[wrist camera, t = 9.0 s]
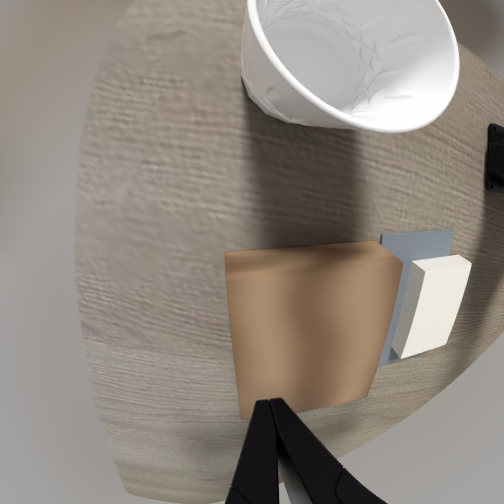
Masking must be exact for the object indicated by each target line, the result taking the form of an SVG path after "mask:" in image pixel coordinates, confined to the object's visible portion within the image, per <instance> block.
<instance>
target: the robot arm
mask: <svg viewBox="0 0 504 504" xmlns="http://www.w3.org/2000/svg"><path fill="white" fill-rule="evenodd" d="M486 188H487V190H488V191H491V192H500V193H504V127H502V126H499V125H497V124H493V123H490V125H489V155H488V172H487V184H486ZM278 466H279V469H280V472H281V475H282V478H283V481H284V484H285V487H286V490H287V493H288V496H289V499H290V502H291V504H387V503H386V502H385V501H383V500H381V499H380V498H379V497H377V496H376V495H375V494H373V493H372V492H371V491H369V490H368V489H367V488H366V487H364V486H363V485H362V484H361V483H360V482H359V481H358V480H357V479H355V478H354V477H353V476H352V475H351V474H350V473H349V472H348V471H347V470H346V469H345V468H343V466H342V464H341V463H339V461H338V460H337V459H336V458H335V457H334V456H333V455H332V454H331V453H330V452H329V451H328V450H327V448H326V447H325V446H324V445H323V444H322V443H321V442H320V441H319V440H318V439H317V437H316V436H315V435H314V434H313V433H312V432H311V431H310V430H309V428H308V427H307V426H306V425H305V424H304V423H303V422H302V420H301V419H300V418H299V417H298V416H297V415H296V414H295V412H294V411H293V410H292V409H291V408H290V407H289V405H288V404H287V403H286V402H285V401H284V399H283V398H281V397H277V398H271V399H269V400H268V399H262V400H257V401H256V402H255V405H254V409H253V412H252V416H251V420H250V423H249V427H248V430H247V434H246V437H245V441H244V444H243V447H242V451H241V454H240V457H239V461H238V464H237V467H236V471H235V474H234V477H233V480H232V484H231V487H230V489H229V492H228V496H227V498H226V501H225V504H279V480H278Z"/></svg>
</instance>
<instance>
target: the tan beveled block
mask: <svg viewBox="0 0 504 504" xmlns="http://www.w3.org/2000/svg"><path fill="white" fill-rule="evenodd" d="M224 255H225V270H226V284H227V295H228V305H229V316H230V325H231V335H232V345H233V354H234V363H235V372H236V380H237V389H238V397H239V405H240V413H241V420H242V419H251V416H252V412H253V409H254V405H255V402H256V401H257V400H262V399H268V400H269V399H271V398H277V397H281V398H283V399H284V401H285V402H286V403H287V404H288V405H289V407H290V408H291V409H292V410H293V411H294V412H295V413H296V412H302V411H307V410H313V409H318V408H323V407H327V406H332V405H336V404H341V403H345V402H349V401H353V400H357V399H361V398H364V397H367V396H368V393H369V390H370V388H371V385H372V382H373V379H374V376H375V373H376V370H377V367H378V364H379V361H380V358H381V354H382V351H383V348H384V344H385V341H386V337H387V334H388V330H389V326H390V323H391V319H392V315H393V311H394V306H395V302H396V298H397V293H398V289H399V284H400V279H401V274H402V269H403V263H404V262H402V261H401V260H400V259H398V258H397V257H396V256H395V255H393V254H392V253H391V252H389V251H388V250H387V249H385V248H384V247H383V246H382V245H380V244H379V243H378V242H376V241H362V242H349V243H336V244H323V245H311V246H298V247H285V248H272V249H260V250H247V251H234V252H224Z"/></svg>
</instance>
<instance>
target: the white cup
mask: <svg viewBox="0 0 504 504" xmlns="http://www.w3.org/2000/svg"><path fill="white" fill-rule="evenodd" d="M241 64H242V70H241V76H242V79H243V82H244V85H245V88H246V90H247V93H248V96H249V97H250V98H251V99H252V100H253V101H254V102H255V103H256V104H257V105H258V106H259V107H260V108H261V109H262V110H263V112H264V113H265V114H267V115H270V116H272V117H275V118H277V119H280V120H282V121H284V122H287V123H297V124H302V125H307V126H317V127H325V128H338V129H351V130H362V131H371V132H378V133H391V134H395V133H406V132H411V131H414V130H418V129H420V128H423V127H425V126H427V125H429V124H430V123H432V122H433V121H435V120H436V119H437V118H438V117H439V116H440V115H441V114H442V113H443V112H444V111H445V110H446V108H447V107H448V105H449V104H450V102H451V100H452V98H453V96H454V93H455V91H456V87H457V83H458V78H459V52H458V46H457V41H456V38H455V35H454V32H453V29H452V26H451V23H450V21H449V19H448V17H447V15H446V13H445V11H444V9H443V8H442V6H441V4H440V3H439V1H438V0H247V1H246V9H245V17H244V25H243V32H242V46H241Z"/></svg>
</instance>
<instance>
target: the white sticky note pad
mask: <svg viewBox="0 0 504 504" xmlns="http://www.w3.org/2000/svg"><path fill="white" fill-rule="evenodd" d="M471 265H472V263H470V262H469V261H467V260H466V259H464V258H463V257H461V256H460V255H453V256H445V257H438V258H431V259H424V260H416V261H412V263H411V268H410V273H409V278H408V283H407V287H406V292H405V296H404V301H403V305H402V309H401V313H400V317H399V320H398V324H397V328H396V331H395V335H394V338H393V341H392V345H391V347H392V348H393V349H394V351H395V352H396V353H397V355H398V356H399V358H400V359H402V358H406V357H409V356H412V355H415V354H418V353H421V352H424V351H427V350H430V349H433V348H436V347H439V346H442V345H445V344H446V342H447V339H448V337H449V334H450V332H451V329H452V326H453V324H454V321H455V318H456V315H457V312H458V310H459V307H460V304H461V300H462V297H463V294H464V291H465V287H466V284H467V280H468V277H469V273H470V269H471Z"/></svg>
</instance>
